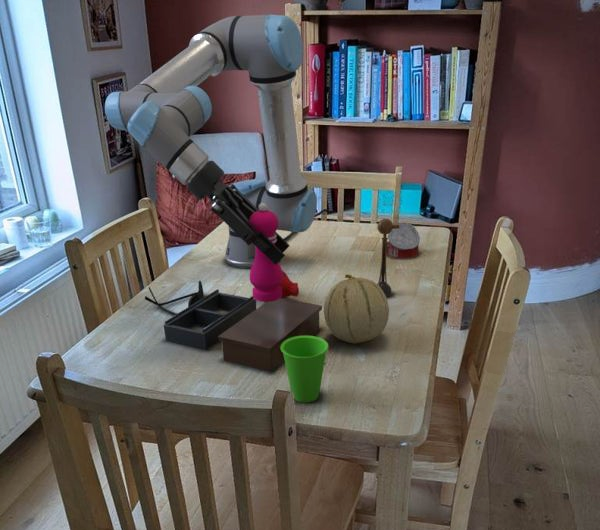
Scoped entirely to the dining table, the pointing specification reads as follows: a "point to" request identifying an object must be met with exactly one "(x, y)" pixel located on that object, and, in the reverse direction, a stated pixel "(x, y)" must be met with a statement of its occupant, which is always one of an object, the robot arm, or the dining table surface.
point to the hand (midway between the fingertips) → (282, 254)
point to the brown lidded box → (268, 333)
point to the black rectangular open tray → (207, 319)
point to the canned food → (403, 242)
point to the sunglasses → (193, 299)
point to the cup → (304, 365)
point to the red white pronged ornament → (288, 287)
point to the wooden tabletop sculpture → (385, 228)
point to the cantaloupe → (356, 310)
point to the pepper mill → (265, 259)
